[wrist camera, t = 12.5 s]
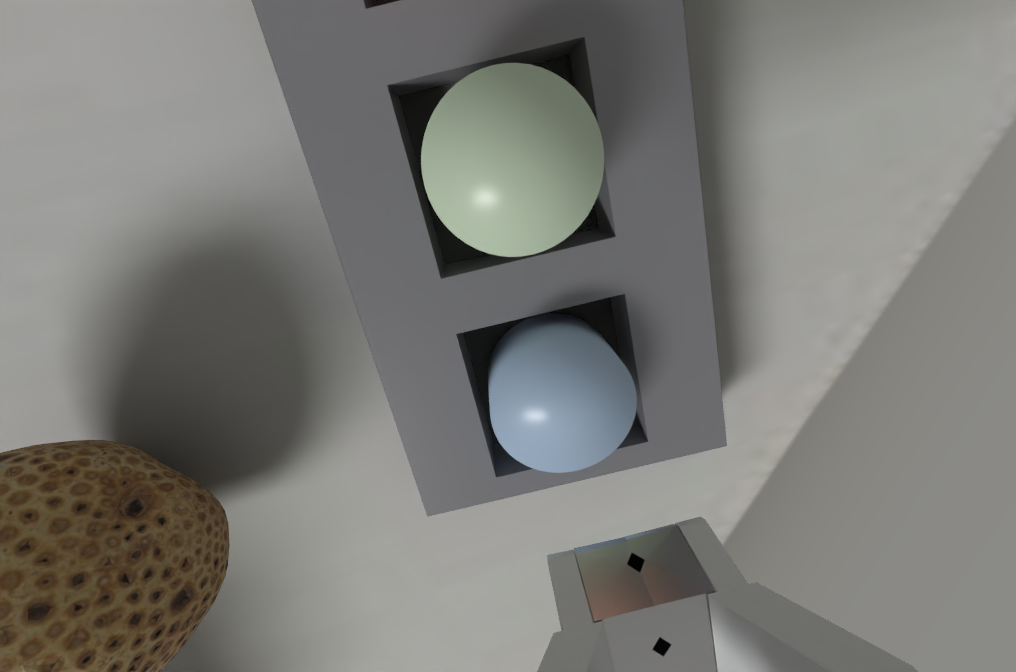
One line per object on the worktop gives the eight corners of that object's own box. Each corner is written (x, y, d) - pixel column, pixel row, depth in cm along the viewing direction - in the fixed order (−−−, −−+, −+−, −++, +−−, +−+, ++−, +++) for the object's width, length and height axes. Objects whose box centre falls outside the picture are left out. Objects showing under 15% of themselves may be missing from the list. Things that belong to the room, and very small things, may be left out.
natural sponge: (248, 376, 20) (53, 559, 11) (288, 556, 23) (160, 827, 14) (10, 390, 20) (-411, 594, 10) (80, 572, 23) (-200, 863, 13)
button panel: (204, -217, 15) (152, -292, 12) (613, -320, 14) (641, -416, 12) (432, 479, 22) (427, 516, 20) (699, 415, 22) (726, 445, 20)
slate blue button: (473, 330, 19) (473, 358, 16) (602, 299, 19) (625, 322, 16) (503, 443, 21) (508, 486, 18) (622, 414, 21) (646, 454, 18)
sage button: (411, 102, 16) (397, 88, 13) (566, 63, 16) (587, 41, 13) (452, 257, 18) (448, 274, 15) (593, 223, 17) (617, 234, 15)
